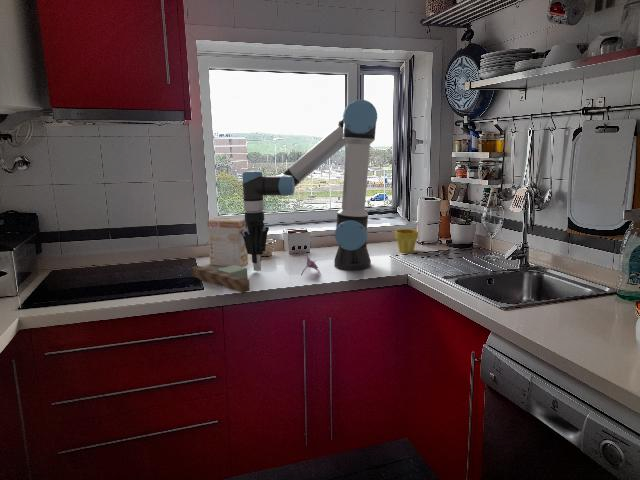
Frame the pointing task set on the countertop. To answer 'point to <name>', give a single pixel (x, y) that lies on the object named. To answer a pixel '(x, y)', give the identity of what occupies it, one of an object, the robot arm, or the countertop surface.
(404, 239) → the plant pot
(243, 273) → the sage block
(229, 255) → the coffeecake box
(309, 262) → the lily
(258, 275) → the countertop surface
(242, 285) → the walnut plank
